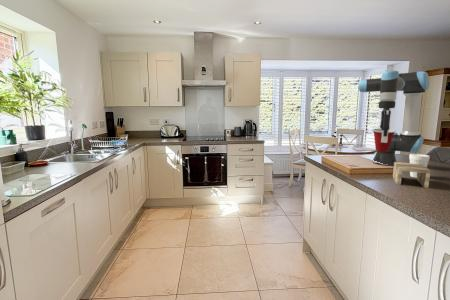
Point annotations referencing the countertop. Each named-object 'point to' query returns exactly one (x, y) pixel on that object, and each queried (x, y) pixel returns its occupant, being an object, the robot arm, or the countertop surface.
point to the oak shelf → (421, 170)
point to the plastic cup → (377, 136)
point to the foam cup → (418, 161)
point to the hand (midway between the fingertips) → (382, 141)
